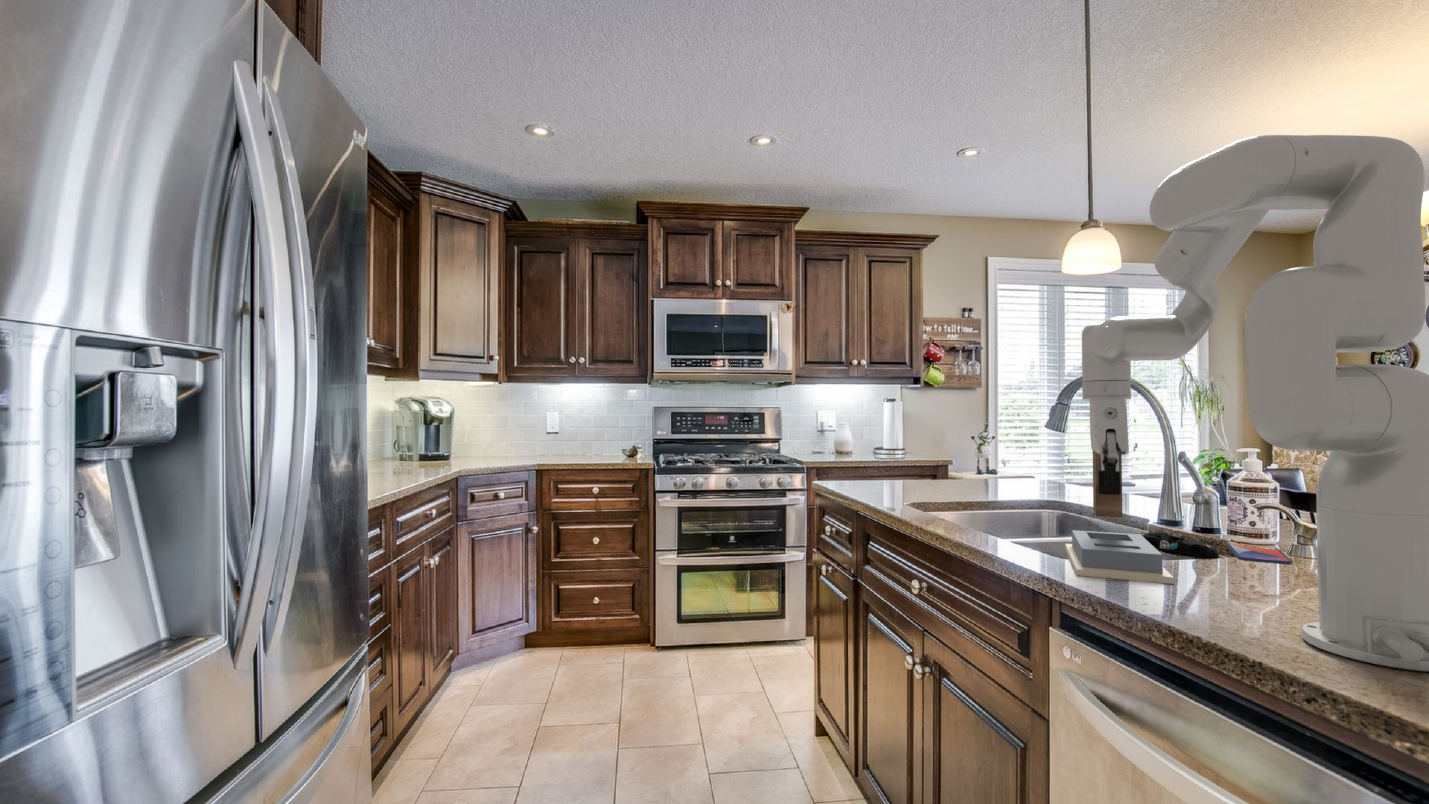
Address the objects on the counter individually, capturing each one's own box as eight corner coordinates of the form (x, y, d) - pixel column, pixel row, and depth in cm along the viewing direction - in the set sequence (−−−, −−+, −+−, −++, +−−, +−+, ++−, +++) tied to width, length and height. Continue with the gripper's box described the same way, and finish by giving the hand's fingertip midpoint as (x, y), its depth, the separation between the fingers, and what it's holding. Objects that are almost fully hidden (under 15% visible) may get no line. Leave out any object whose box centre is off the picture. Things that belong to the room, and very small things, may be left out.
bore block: (1173, 583, 98) (1173, 557, 98) (1076, 575, 103) (1076, 550, 103) (1145, 554, 118) (1144, 532, 118) (1065, 548, 123) (1065, 528, 123)
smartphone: (1238, 562, 113) (1238, 556, 113) (1224, 545, 126) (1224, 540, 126) (1293, 568, 110) (1293, 561, 110) (1273, 549, 122) (1273, 544, 122)
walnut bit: (1122, 517, 112) (1121, 449, 112) (1096, 516, 114) (1095, 449, 114) (1118, 514, 116) (1117, 448, 116) (1093, 512, 118) (1092, 447, 118)
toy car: (1222, 560, 114) (1222, 537, 114) (1142, 554, 119) (1141, 531, 119) (1213, 551, 121) (1212, 529, 121) (1137, 545, 127) (1137, 524, 127)
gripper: (1139, 390, 106) (1140, 499, 106) (1122, 392, 121) (1124, 488, 121) (1087, 390, 109) (1088, 497, 109) (1077, 392, 124) (1078, 486, 124)
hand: (1107, 491), depth 115 cm, fingers closed on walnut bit, 4 cm apart
